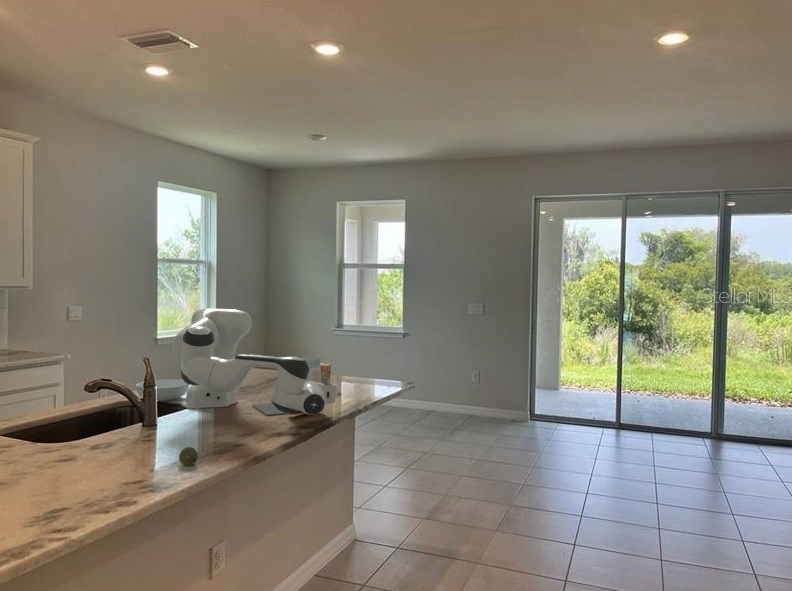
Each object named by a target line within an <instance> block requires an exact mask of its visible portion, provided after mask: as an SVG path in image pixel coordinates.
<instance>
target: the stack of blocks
mask: <svg viewBox="0 0 792 591" xmlns="http://www.w3.org/2000/svg"><path fill="white" fill-rule="evenodd" d="M320 366H321V383H323V384H331V373H332V372H331V369H332V367H331V363H325V362H320Z"/></svg>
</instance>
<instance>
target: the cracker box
mask: <svg viewBox="0 0 792 591" xmlns="http://www.w3.org/2000/svg"><path fill="white" fill-rule="evenodd" d="M303 359H304V360H305V361H306V362H307V364H308V366H309V369H310V370H309V373H308V376H307V379H306V381H305V383H306V382H308V381H315V382H317V383H318V382H319V383H321V366H320V363H321V358H319V357H317V358H316V357H315V358H303ZM323 411H324V409H323V410H322V412H323ZM303 414H305V413H304V412H301V413H298V414H290V413H287V414H286V415H290V416H291V415H303Z"/></svg>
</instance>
